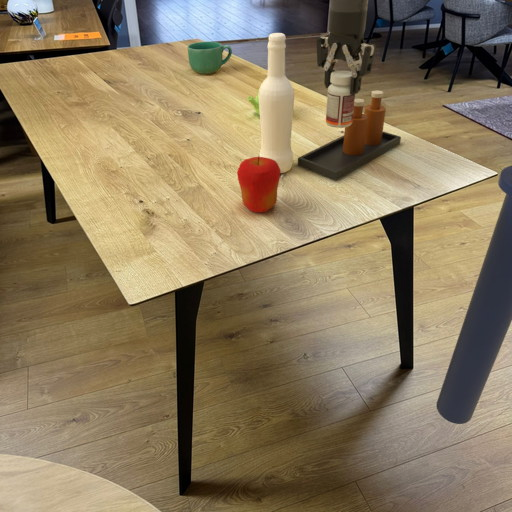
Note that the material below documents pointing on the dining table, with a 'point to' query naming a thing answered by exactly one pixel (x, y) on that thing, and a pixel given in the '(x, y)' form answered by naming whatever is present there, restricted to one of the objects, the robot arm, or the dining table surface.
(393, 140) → the tray
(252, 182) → the apple
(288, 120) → the bottle
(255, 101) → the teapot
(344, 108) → the pill bottle
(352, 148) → the amber bottle near
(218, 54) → the mug
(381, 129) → the amber bottle far
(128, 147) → the dining table surface
